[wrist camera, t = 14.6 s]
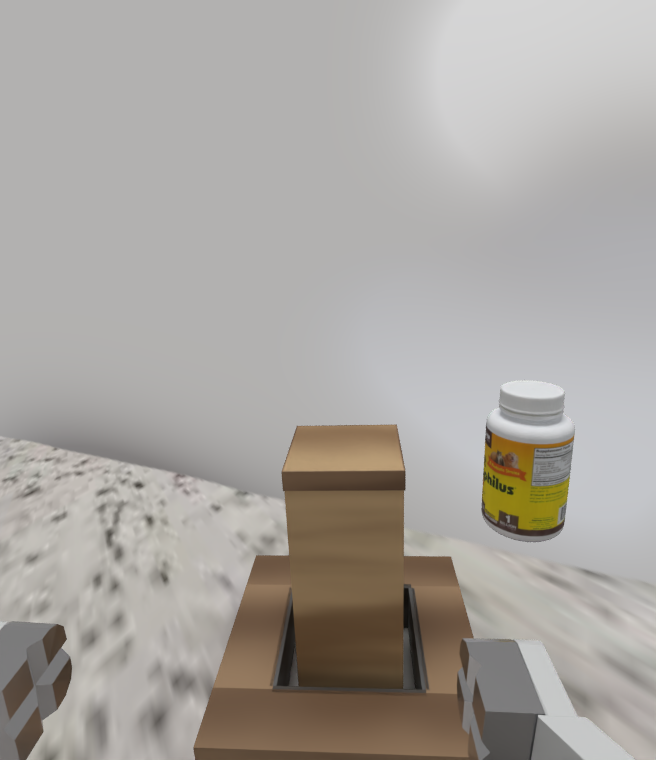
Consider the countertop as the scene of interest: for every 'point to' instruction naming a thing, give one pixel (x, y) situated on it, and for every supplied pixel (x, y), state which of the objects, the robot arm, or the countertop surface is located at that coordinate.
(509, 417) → the supplement bottle
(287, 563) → the wooden square frame
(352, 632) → the peg
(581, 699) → the countertop surface
